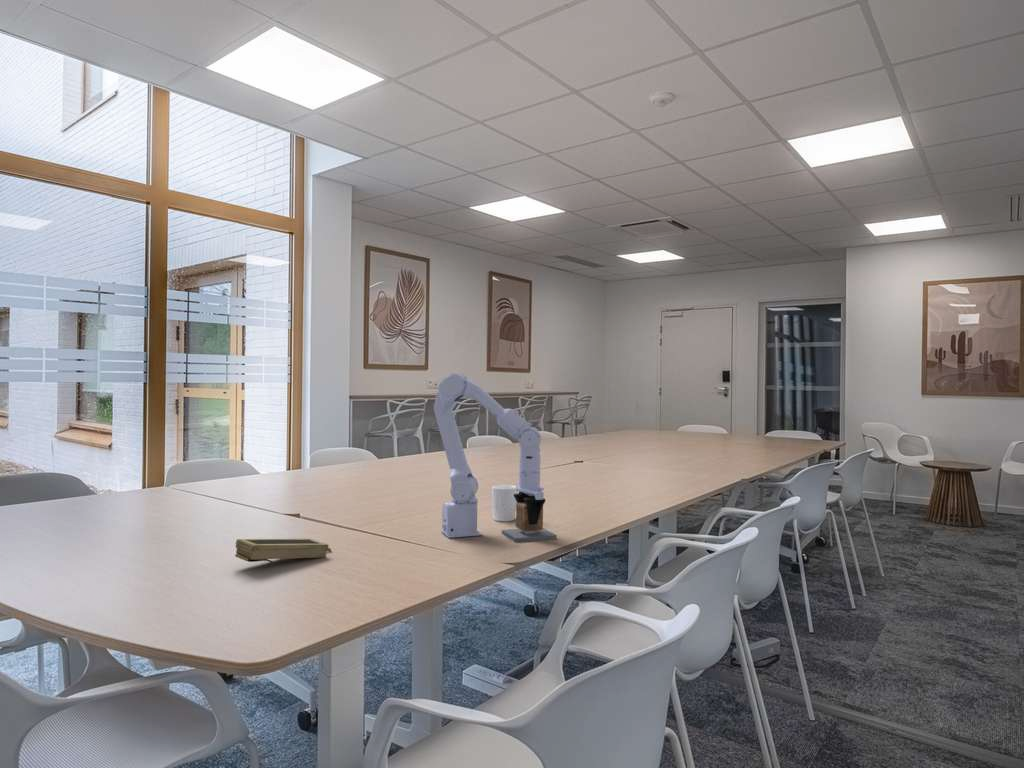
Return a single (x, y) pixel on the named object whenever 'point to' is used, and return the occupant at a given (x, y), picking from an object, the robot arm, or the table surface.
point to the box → (279, 549)
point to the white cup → (503, 502)
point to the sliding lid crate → (523, 520)
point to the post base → (528, 535)
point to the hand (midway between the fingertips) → (528, 521)
